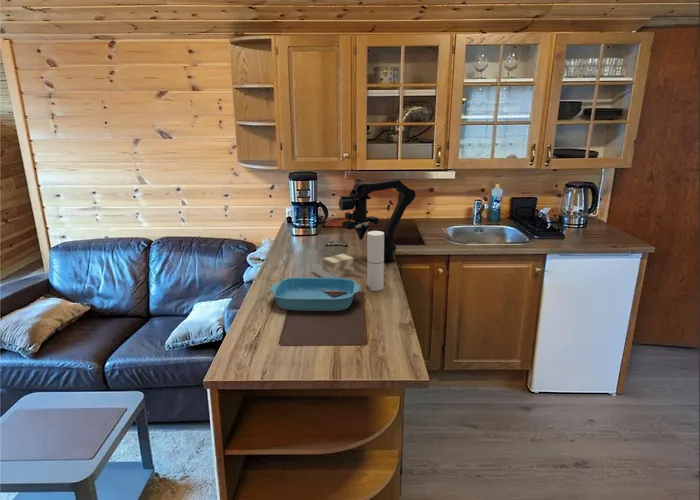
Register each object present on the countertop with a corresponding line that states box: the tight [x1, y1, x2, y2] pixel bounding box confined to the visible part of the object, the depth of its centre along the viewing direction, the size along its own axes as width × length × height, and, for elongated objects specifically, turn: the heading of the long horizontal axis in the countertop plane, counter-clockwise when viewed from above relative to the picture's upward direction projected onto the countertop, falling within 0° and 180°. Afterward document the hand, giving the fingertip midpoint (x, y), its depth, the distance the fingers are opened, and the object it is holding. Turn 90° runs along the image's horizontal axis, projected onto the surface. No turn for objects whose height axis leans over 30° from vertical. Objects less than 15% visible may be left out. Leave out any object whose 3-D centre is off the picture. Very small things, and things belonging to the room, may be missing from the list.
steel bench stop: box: [311, 262, 340, 278], centre depth 214 cm, size 2×20×4 cm, turn 36°
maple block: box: [322, 254, 355, 278], centre depth 217 cm, size 12×8×8 cm, turn 126°
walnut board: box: [311, 259, 386, 281], centre depth 222 cm, size 29×20×2 cm
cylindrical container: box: [366, 230, 385, 292], centre depth 203 cm, size 7×7×25 cm
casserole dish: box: [269, 276, 362, 312], centre depth 192 cm, size 37×22×7 cm, turn 86°
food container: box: [324, 239, 350, 258], centre depth 240 cm, size 12×6×10 cm, turn 84°
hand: (360, 239), depth 231 cm, fingers closed
